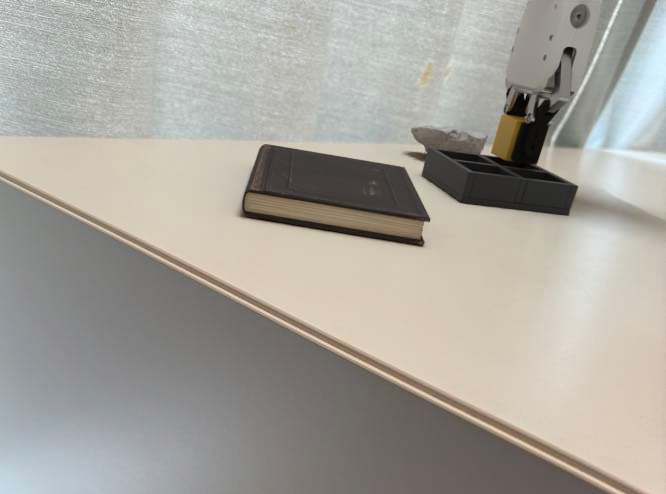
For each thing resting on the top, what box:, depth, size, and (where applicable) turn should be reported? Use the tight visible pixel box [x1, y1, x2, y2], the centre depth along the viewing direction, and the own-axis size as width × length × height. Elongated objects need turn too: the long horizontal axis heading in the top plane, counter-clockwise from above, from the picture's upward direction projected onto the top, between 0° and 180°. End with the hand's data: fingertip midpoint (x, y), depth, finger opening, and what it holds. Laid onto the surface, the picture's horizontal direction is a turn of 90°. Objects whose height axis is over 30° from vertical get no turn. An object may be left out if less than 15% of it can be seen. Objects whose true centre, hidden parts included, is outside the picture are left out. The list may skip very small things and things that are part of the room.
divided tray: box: [421, 147, 579, 216], centre depth 91 cm, size 13×13×3 cm
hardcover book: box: [241, 143, 431, 246], centre depth 76 cm, size 16×23×2 cm
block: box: [490, 113, 550, 166], centre depth 92 cm, size 4×4×4 cm
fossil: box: [410, 125, 488, 155], centre depth 106 cm, size 9×6×10 cm
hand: (514, 156), depth 93 cm, fingers closed on block, 4 cm apart
